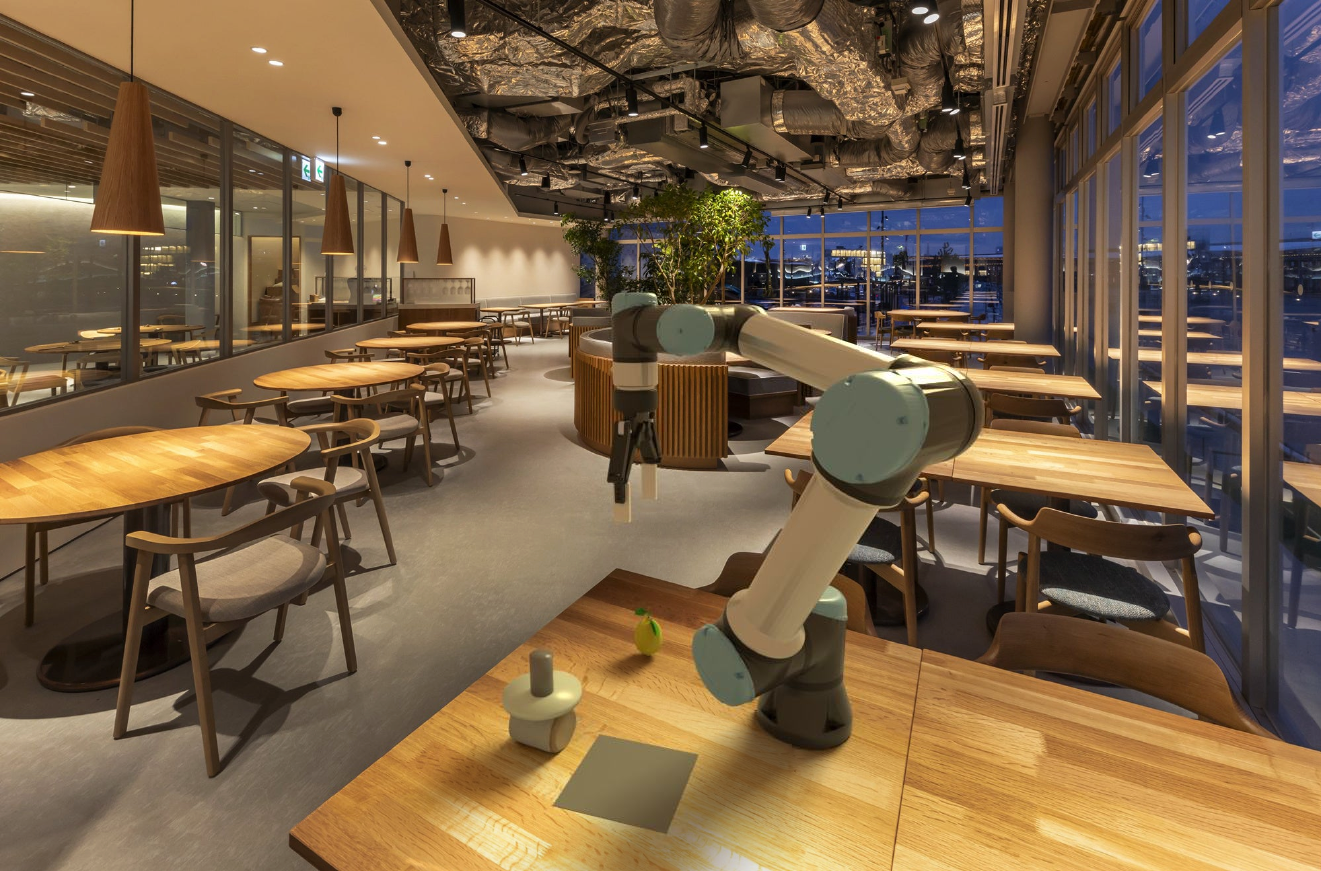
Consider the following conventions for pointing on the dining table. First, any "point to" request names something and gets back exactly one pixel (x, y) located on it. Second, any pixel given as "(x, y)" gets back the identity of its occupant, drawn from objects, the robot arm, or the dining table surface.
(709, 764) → the dining table surface
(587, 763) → the mat
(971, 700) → the dining table surface
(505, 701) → the lid
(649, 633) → the lemon
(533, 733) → the ceramic mug
